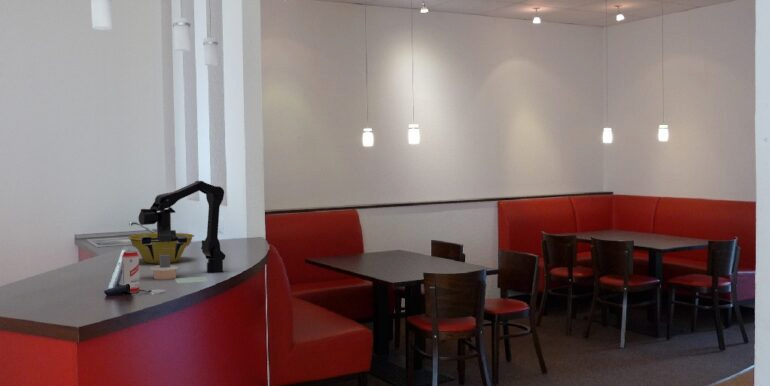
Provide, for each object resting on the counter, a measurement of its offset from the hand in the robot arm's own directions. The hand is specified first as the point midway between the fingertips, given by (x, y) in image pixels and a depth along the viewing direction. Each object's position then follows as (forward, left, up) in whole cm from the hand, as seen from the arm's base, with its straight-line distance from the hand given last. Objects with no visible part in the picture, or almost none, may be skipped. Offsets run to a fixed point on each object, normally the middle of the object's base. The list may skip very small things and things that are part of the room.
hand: (164, 259), depth 316 cm
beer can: (+15, +29, -9) cm, 34 cm away
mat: (-10, +11, -8) cm, 17 cm away
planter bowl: (-3, -56, -9) cm, 57 cm away
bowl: (0, 0, -8) cm, 9 cm away
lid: (0, 0, -4) cm, 4 cm away
